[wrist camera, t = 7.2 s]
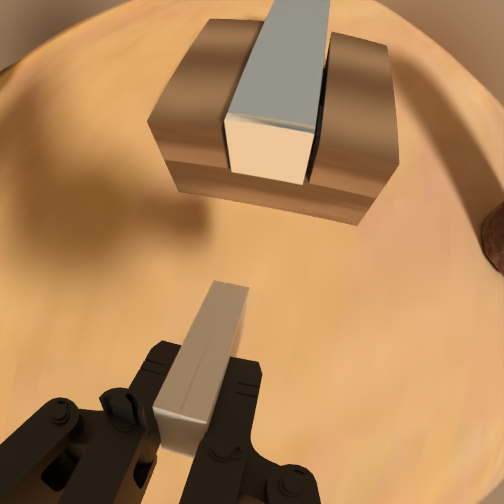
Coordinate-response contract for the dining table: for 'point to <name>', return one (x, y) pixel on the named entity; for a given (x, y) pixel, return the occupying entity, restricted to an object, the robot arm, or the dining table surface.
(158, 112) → the guide block
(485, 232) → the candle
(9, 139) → the dining table surface
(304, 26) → the peg
